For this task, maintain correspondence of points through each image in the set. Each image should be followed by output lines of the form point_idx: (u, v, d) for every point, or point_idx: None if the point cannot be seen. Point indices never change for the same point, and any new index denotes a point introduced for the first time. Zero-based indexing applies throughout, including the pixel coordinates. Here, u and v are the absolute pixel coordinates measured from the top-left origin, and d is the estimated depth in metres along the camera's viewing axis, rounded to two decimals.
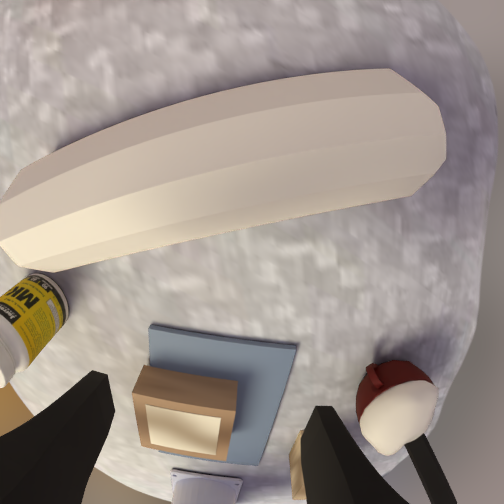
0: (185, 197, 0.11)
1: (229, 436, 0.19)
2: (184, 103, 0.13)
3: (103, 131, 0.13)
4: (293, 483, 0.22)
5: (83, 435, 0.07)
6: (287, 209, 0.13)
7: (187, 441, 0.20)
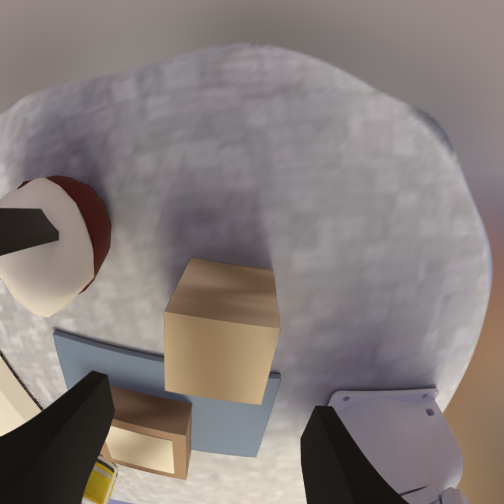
0: None
1: (127, 424, 0.17)
2: None
3: None
4: None
5: (83, 435, 0.07)
6: None
7: (154, 452, 0.18)
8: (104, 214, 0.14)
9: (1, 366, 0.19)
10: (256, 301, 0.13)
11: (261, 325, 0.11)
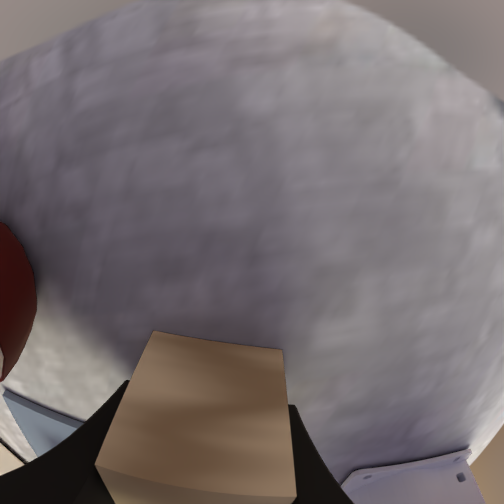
0: None
1: None
2: None
3: None
4: None
5: None
6: None
7: None
8: (17, 267, 0.08)
9: None
10: (254, 434, 0.07)
11: (262, 493, 0.05)
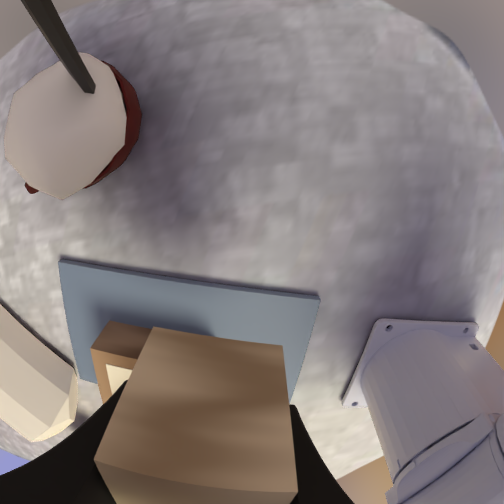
0: None
1: None
2: None
3: None
4: None
5: None
6: None
7: None
8: (137, 100, 0.13)
9: None
10: (254, 428, 0.07)
11: (263, 488, 0.05)
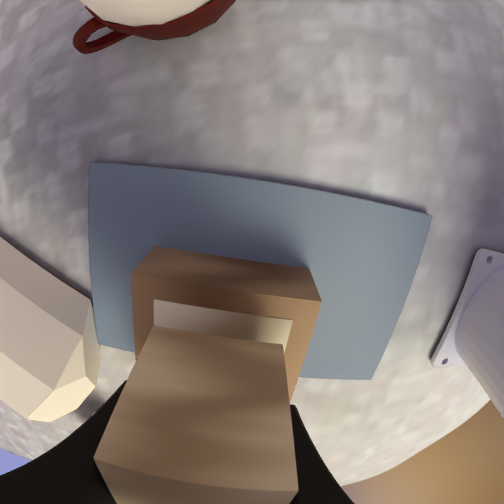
0: None
1: (214, 290, 0.11)
2: None
3: None
4: None
5: None
6: None
7: None
8: None
9: None
10: (255, 427, 0.07)
11: (264, 487, 0.05)
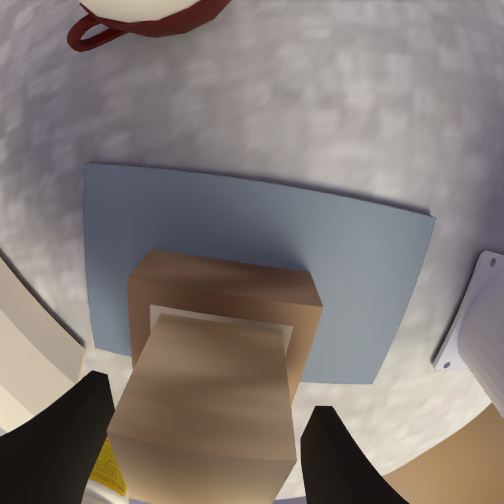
0: None
1: (212, 295, 0.11)
2: None
3: None
4: None
5: (83, 435, 0.07)
6: None
7: None
8: None
9: None
10: (256, 403, 0.07)
11: (264, 457, 0.06)
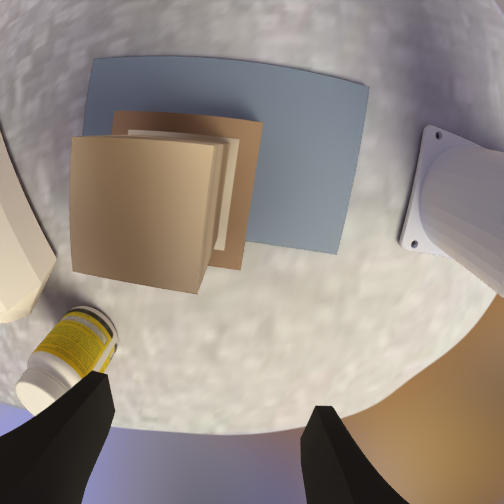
0: None
1: (176, 115, 0.13)
2: None
3: None
4: None
5: (83, 435, 0.07)
6: None
7: None
8: None
9: None
10: (192, 141, 0.10)
11: (187, 142, 0.08)
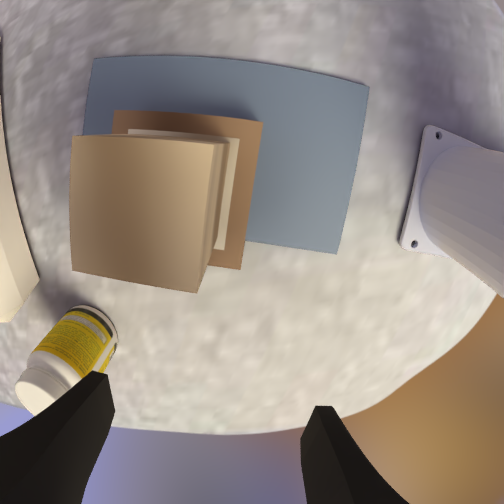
0: None
1: (176, 115, 0.13)
2: None
3: None
4: None
5: (83, 435, 0.07)
6: None
7: None
8: None
9: (1, 158, 0.15)
10: (193, 140, 0.09)
11: (187, 142, 0.08)
